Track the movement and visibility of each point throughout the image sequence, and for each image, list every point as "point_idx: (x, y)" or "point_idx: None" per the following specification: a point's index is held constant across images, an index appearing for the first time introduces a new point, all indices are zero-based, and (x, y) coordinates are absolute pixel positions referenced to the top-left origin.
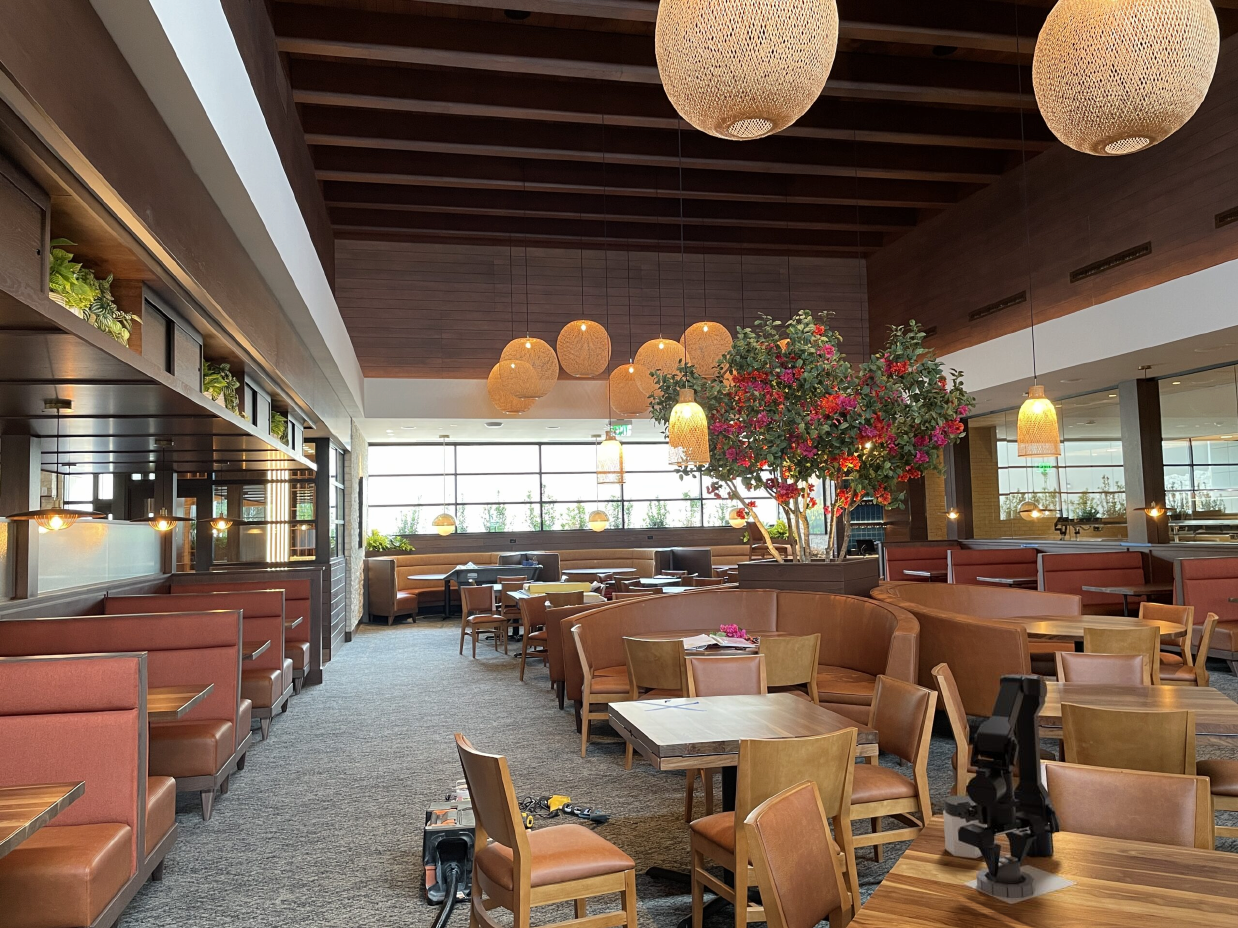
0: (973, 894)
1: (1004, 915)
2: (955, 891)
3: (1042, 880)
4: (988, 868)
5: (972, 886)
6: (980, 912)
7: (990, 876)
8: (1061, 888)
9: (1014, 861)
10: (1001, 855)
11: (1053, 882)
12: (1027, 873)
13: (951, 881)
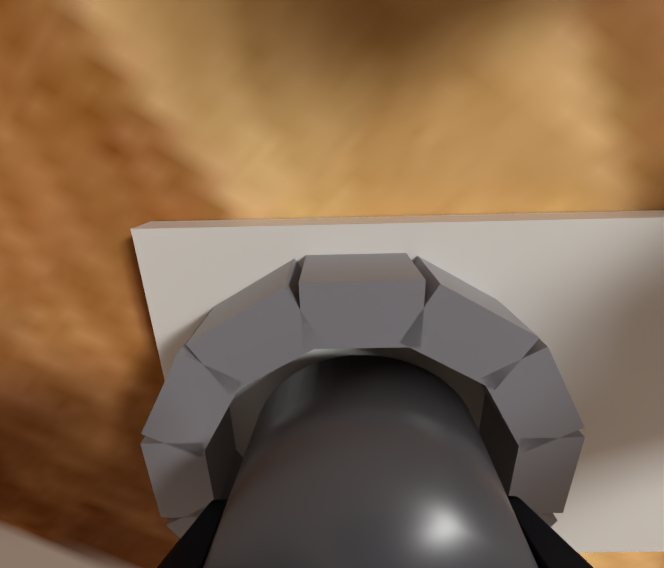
0: (152, 329)
1: (134, 551)
2: (64, 235)
3: (642, 448)
4: (167, 560)
5: (163, 310)
6: (43, 493)
7: (246, 449)
8: (595, 550)
9: None
10: (510, 556)
11: (654, 493)
12: (563, 503)
13: (150, 56)
